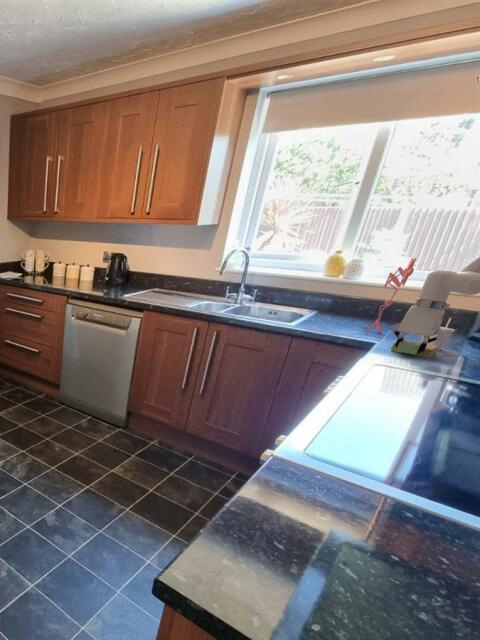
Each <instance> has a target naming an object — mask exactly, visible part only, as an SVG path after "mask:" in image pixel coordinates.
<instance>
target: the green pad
mask: <svg viewBox="0 0 480 640" xmlns="http://www.w3.org/2000/svg"><path fill="white" fill-rule="evenodd" d="M421 343H423V341H418V340H413V339H404V341H402V342H399V345H398V347H397V349H396V351H399V352H402V353H403V354H408V355H413V356H414V355H415V354H417V352H418V350H419V347H420V345H421ZM415 356H416V355H415Z"/></svg>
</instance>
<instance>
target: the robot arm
mask: <svg viewBox="0 0 480 640" xmlns="http://www.w3.org/2000/svg"><path fill="white" fill-rule="evenodd" d="M451 293H457V294H461V295H466V296H467V295H468V296H474V295H479V294H480V256H478V257H477V258H475V259H474V260H472V261H471V262H470V263H468V264H467V265H466V266H464V267H463V268H462V269H460V270H459V271H458V272H455V271H451V270H440V269H434V270H431V271H430V272H429V273H428V274H427V276H426V278H425V281H424V283H423V285H422V287H421V290H420V292H419V294H418V295H417V299H416V300H415V302H414V305H411V306H410V307H409V309H408V311H407V312H406V313H405V314H404V317H403V319H402V321H400V322H399V323H396V324H395V325H393V326H390V330H391V331H392V332H394V333H393V334H394V335H395V337H396V339H397V340H396V341H395V342H396V344H395V346H396V349H397V347H398V345H399V342H402V341H403V340H405V339H404V338H405V337H406V335H407V334H412V335H419V336H423V341H422V343H421V345H420V347H419V350H418V352H417V353H421V352H424V350H425V348H426V346H427V344H429V343H430V342H433V341H435V340H439V339H442V338H444V337H445V336H444V334H443V333H442V331H441V330H440V328H439V327H441V325H442V323H443V320H444V316H445V313H446V310H445V309H446V308H447V309H449V308H450V306H451V303H448V302H447V300H448V298H449V296H450V294H451ZM436 333H437V335H438V336H437V337H434V338H431V339H430V337H431V336H433V335H435V334H436ZM404 336H405V337H404Z"/></svg>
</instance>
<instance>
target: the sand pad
mask: <svg viewBox="0 0 480 640" xmlns="http://www.w3.org/2000/svg"><path fill="white" fill-rule="evenodd" d="M404 340H405V339H404ZM404 340H403V341H404ZM396 342H397V341H395V342H394V343H393V344H392V346H391V349H390V352H395V353H398V354H402V353H403V352H399V351H396V346H395V344H396ZM437 348H438V346H434V345H429V343H428V344H427V346H426V348H425V350H424V352H421V353H417V354H415V356H417V357H419V358H423V359H429V358H431V357H433V356H434V355H435V354H436V352H437V351H438V350H437Z"/></svg>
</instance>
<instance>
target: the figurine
mask: <svg viewBox="0 0 480 640" xmlns="http://www.w3.org/2000/svg"><path fill="white" fill-rule="evenodd" d="M416 260H417V257H416V258H414V257H412V258H410V260H409V262H408V264H407V266H406V267H404V269H403V268H402V266H399V267H398V268H397V270H396V271H395V272H394V273H392V272H389V274H388V277H387V278H386V281H385V284H384V286H383V288H387V286H388V285H390V286H391V287H392V288H394V292H393V295H392V296H391V298H390V299H386V300H385V301H384V304H383V305H380V307H379V310H378V317H377V319H375V320H374V323H372V324H371V325H370V326H369V327H367V329H366V330H365V332H364V334H362V336H364V335H367V334H368V333H369V332H370V331H372V330H373V329H374V328H375V327H376V329H377V331H378V333H379V335H380V336H381V337H383V332H382V329H383V328H382V324H381V322H380V321H381V317H382V315H383V311H384V309H386V308H387V307H389V306H391V305H393V304H394V301H393V299H394V296H395V295H396V294H397V292H398V288H400V287H401V286H402V287H404V286H405V284H406V283H407V281H408V278H409V277H411V276H412V274H413V273H414V270H415V269H414V265H415V263H416ZM397 273H398V274H397ZM399 276H401V277H402V278H401V279H400V280H399ZM391 282H392V283H393V284H394V285H393V284H392V283H391ZM395 285H396V286H395ZM397 287H398V288H397ZM382 307H383V308H382ZM391 333H393V334H394V332H393V331H392V332H391ZM404 340H406V335H405V336H404Z"/></svg>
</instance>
